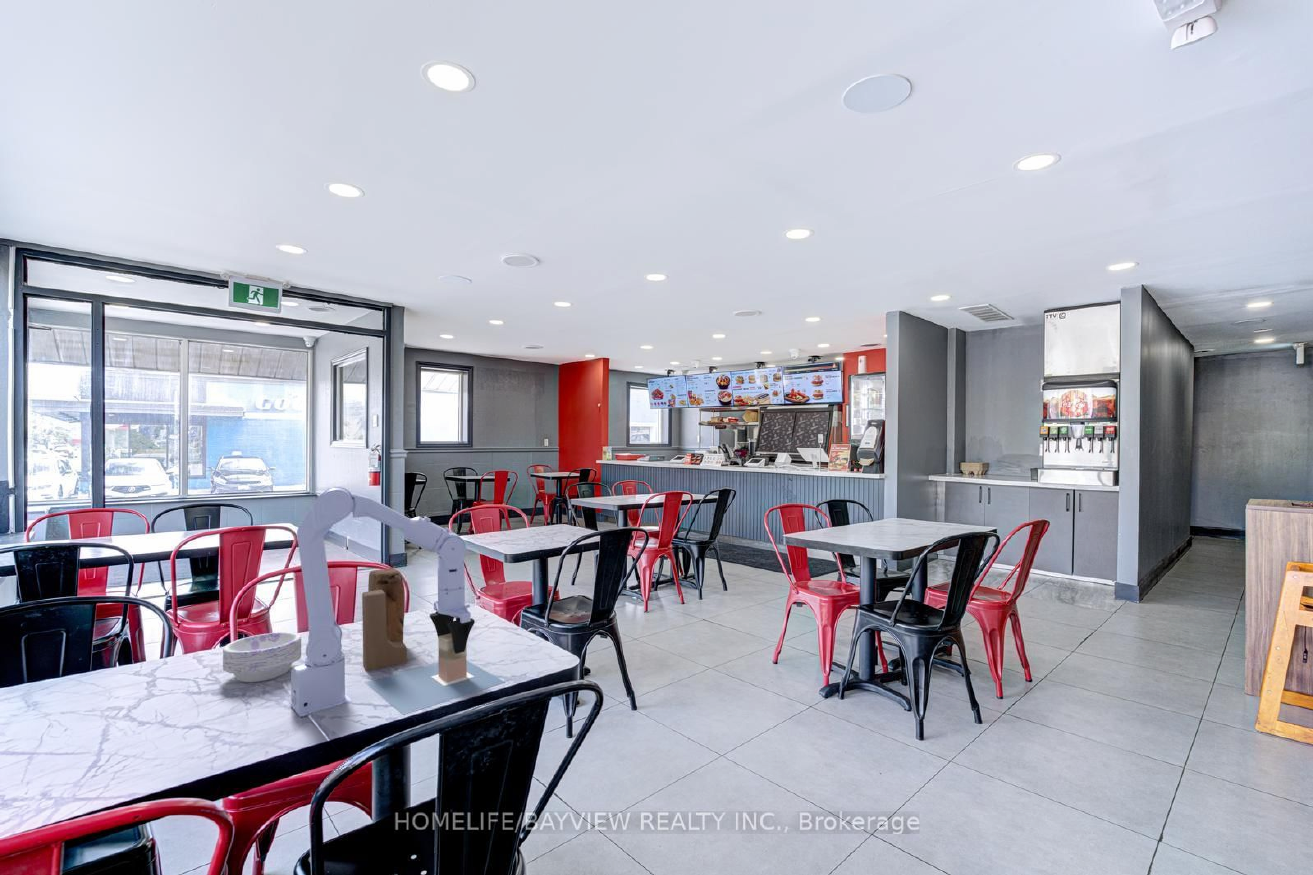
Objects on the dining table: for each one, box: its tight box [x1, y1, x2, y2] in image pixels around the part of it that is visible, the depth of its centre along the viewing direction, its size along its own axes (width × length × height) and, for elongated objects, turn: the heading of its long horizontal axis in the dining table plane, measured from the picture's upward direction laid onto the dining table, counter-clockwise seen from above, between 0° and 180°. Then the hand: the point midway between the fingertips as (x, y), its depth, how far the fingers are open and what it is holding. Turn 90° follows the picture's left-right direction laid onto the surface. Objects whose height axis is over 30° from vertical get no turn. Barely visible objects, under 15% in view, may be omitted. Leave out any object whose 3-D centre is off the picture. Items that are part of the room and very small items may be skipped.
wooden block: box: [361, 590, 408, 672], centre depth 144 cm, size 9×4×18 cm, turn 124°
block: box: [367, 568, 406, 643], centre depth 157 cm, size 11×8×20 cm
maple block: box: [437, 633, 468, 662], centre depth 136 cm, size 4×4×4 cm
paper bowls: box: [222, 631, 302, 683], centre depth 140 cm, size 15×15×8 cm
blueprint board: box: [365, 659, 506, 716], centre depth 133 cm, size 22×22×1 cm
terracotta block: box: [437, 656, 468, 682], centre depth 136 cm, size 4×4×4 cm
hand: (452, 648), depth 136 cm, fingers open, 7 cm apart
